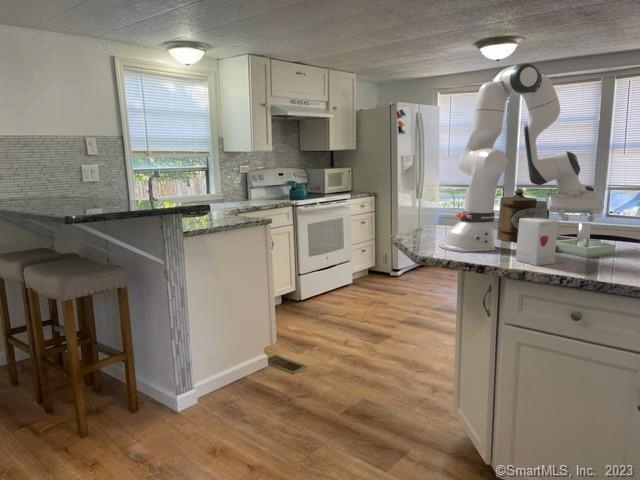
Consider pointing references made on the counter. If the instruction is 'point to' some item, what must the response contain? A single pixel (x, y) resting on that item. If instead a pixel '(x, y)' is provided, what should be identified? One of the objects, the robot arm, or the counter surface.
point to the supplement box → (536, 241)
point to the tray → (585, 248)
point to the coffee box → (542, 210)
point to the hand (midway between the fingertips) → (578, 220)
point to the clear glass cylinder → (583, 234)
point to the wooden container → (514, 215)
